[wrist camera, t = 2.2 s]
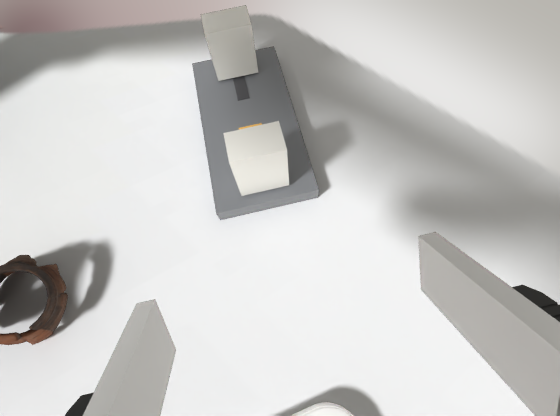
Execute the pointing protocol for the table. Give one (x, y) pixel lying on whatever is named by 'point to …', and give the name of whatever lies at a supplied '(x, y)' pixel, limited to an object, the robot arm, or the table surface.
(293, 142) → the switch plate
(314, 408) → the computer
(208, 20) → the switch
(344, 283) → the table surface
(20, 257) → the brown hollow rounded piece
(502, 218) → the table surface
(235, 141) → the switch
